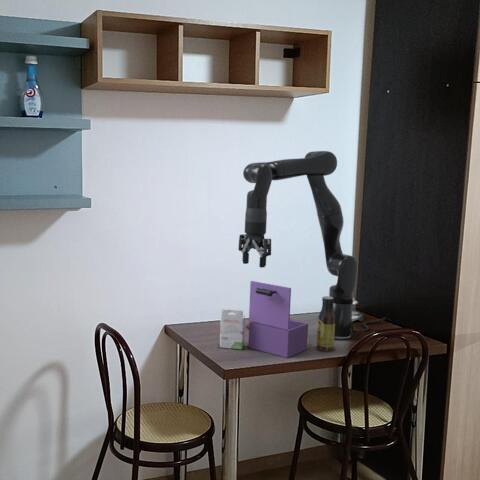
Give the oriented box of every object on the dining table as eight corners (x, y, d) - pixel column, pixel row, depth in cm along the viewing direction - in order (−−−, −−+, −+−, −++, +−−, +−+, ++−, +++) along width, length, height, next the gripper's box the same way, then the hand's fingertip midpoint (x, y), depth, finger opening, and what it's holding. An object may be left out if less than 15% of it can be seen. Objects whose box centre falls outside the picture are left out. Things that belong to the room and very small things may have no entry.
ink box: (244, 346, 241) (245, 307, 239) (242, 350, 236) (243, 310, 234) (221, 343, 243) (222, 305, 241) (219, 347, 239) (220, 308, 237)
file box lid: (251, 280, 236) (243, 282, 233) (291, 288, 226) (283, 290, 222) (249, 320, 239) (241, 323, 235) (289, 329, 228) (281, 332, 224)
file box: (268, 339, 250) (269, 315, 249) (306, 349, 239) (308, 323, 238) (248, 347, 240) (249, 321, 238) (287, 357, 229) (288, 330, 227)
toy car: (344, 293, 290) (368, 298, 282) (343, 314, 292) (366, 319, 283) (321, 299, 278) (345, 304, 270) (320, 321, 280) (344, 326, 271)
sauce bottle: (317, 345, 244) (320, 294, 241) (334, 347, 242) (337, 296, 239) (315, 350, 238) (318, 297, 235) (332, 352, 236) (335, 299, 233)
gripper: (278, 221, 223) (275, 267, 226) (249, 217, 235) (247, 261, 237) (262, 222, 219) (260, 269, 221) (234, 218, 231) (232, 263, 233)
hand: (253, 265), depth 229 cm, fingers open, 8 cm apart
